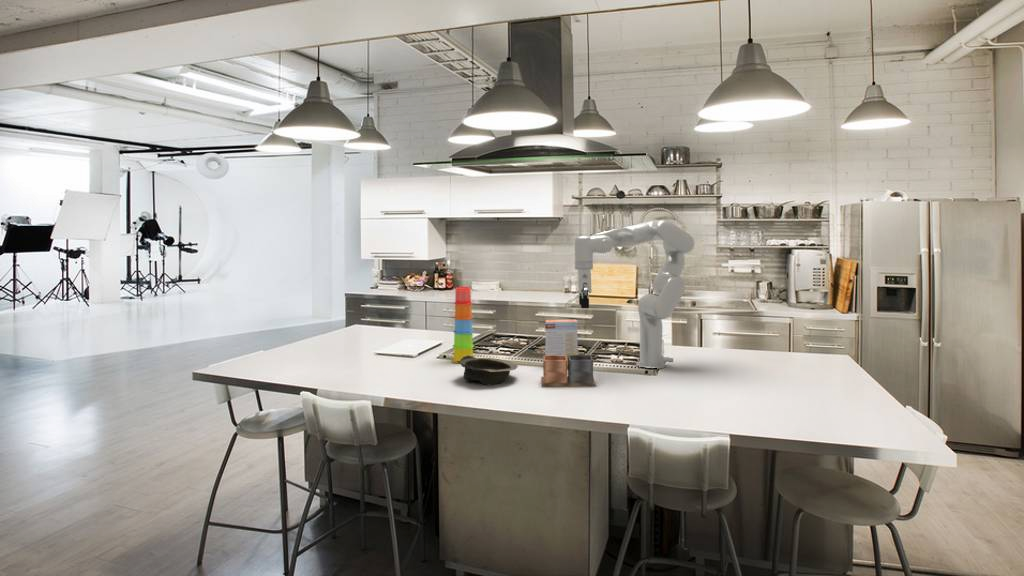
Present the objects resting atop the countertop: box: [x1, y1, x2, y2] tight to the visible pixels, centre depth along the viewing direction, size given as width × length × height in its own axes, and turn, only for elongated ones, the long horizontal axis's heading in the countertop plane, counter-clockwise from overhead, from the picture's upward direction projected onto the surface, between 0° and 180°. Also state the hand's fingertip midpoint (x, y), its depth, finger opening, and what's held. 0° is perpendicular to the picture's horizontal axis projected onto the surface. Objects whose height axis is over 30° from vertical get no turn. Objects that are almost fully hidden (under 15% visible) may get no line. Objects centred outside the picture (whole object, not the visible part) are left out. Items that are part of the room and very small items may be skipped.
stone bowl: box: [456, 355, 519, 386], centre depth 249 cm, size 25×25×9 cm
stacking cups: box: [452, 286, 475, 364], centre depth 281 cm, size 10×10×35 cm
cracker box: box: [544, 319, 579, 369], centre depth 267 cm, size 14×6×21 cm, turn 84°
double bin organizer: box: [540, 354, 597, 388], centre depth 242 cm, size 21×11×10 cm, turn 88°
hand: (584, 306), depth 255 cm, fingers open, 9 cm apart
